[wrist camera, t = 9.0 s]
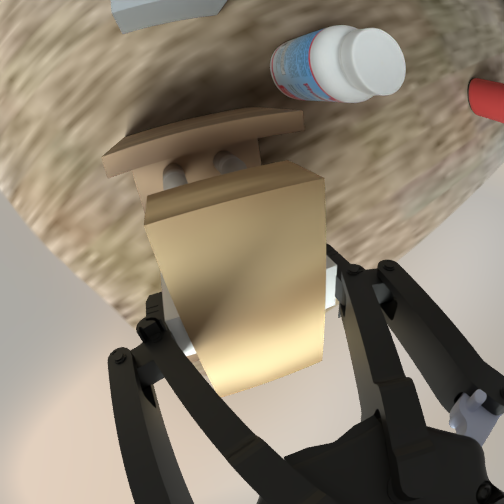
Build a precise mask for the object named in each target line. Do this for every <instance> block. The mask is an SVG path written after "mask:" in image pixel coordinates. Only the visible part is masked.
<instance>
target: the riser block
mask: <svg viewBox="0 0 504 504" xmlns="http://www.w3.org/2000/svg"><path fill="white" fill-rule="evenodd" d="M226 1H227V0H111V9H112V14H113V16H114V18H115V20H116V22H117V24H118V26H119V28H120V30H121V32H122V34H125V33H128V32H132V31H135V30H139V29H143V28H147V27H151V26H155V25H159V24H164V23H169V22H174V21H179V20H185V19H191V18H197V17H205V16H213V15H217V14H218V12H219V11H220V10H221V8H222V7H223V6H224V4H225V3H226Z"/></svg>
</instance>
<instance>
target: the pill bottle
mask: <svg viewBox="0 0 504 504" xmlns="http://www.w3.org/2000/svg"><path fill="white" fill-rule="evenodd" d="M270 71H271V76H272V79H273V81H274V83H275V85H276V86H277V88H278V89H279V90H280V91H281V92H282V93H283V94H285V95H286V96H288V97H290V98H293V99H297V100H308V101H330V102H344V103H358V102H363V101H366V100H368V99H370V98H371V97H372V96H374V95H382V96H386V95H391V94H393V93H395V92H396V91H397V90H398V89H399V88H400V87H401V85H402V84H403V81H404V78H405V72H406V66H405V59H404V56H403V53H402V51H401V49H400V47H399V45H398V44H397V42H396V41H395V40H394V39H393V38H392V37H391V36H390V35H389V34H388V33H386V32H385V31H383V30H380V29H377V28H365V29H357V28H355V27H352V26H347V25H335V26H331V27H327V28H324V29H321V30H318V31H315V32H312V33H309V34H306V35H303V36H300V37H298V38H295V39H292V40H290V41H287V42H285V43H283V44H281V45H280V46H279V47H278V48H277V49H276V50H275V51H274V53H273V54H272V57H271V61H270Z"/></svg>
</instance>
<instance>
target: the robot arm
mask: <svg viewBox="0 0 504 504" xmlns="http://www.w3.org/2000/svg"><path fill="white" fill-rule="evenodd" d="M161 285H162V292H159V293H156V294H153V295H149V297H148V299H147V301H146V317H145V318H143V319H142V320H141V321H140V322H139V323H138V324H137V327H136V330H137V333H138V335H139V336H140V338H141V340H142V341H143V343H142V344H140V345H139V346H138V347H136V348H134V349H132V350H131V351H130V350H129V349H127V348H124V347H121V348H117V349H115V350H114V351H113V352H112V353H111V354H110V356H109V357H108V370H109V381H110V389H111V398H112V405H113V412H114V418H115V424H116V429H117V434H118V440H119V445H120V450H121V454H122V458H123V463H124V467H125V471H126V475H127V478H128V482H129V486H130V489H131V492H132V496H133V499H134V502H135V504H194V502H193V500H192V498H191V496H190V493H189V491H188V488H187V486H186V484H185V481H184V479H183V476H182V474H181V471H180V468H179V466H178V463H177V460H176V458H175V455H174V452H173V449H172V446H171V443H170V440H169V437H168V434H167V431H166V428H165V425H164V421H163V418H162V415H161V411H160V408H159V404H158V401H157V397H156V393H155V389H154V386H153V384H154V383H156V382H157V381H159V380H161V379H163V378H164V377H165V379H166V380H167V382H168V383H169V385H170V386H171V388H172V389H173V390H174V392H175V394H176V395H177V396H178V398H179V399H180V401H181V402H182V404H183V405H184V406H185V408H186V409H187V411H188V412H189V413H190V415H191V416H192V417H193V419H194V420H195V421H196V422H197V424H198V425H199V426H200V428H201V429H202V430H203V432H204V433H205V434H206V435H207V437H208V438H209V439H210V440H211V442H212V443H213V444H214V445H215V447H216V448H217V449H218V450H219V451H220V452H221V454H222V455H223V456H224V457H225V458H226V460H227V461H228V462H229V463H230V465H231V466H232V467H233V468H234V469H235V470H236V471H237V472H238V473H239V475H241V477H242V478H243V479H244V480H245V481H246V482H247V483H248V484H249V485H250V486H251V487H252V488H253V489H254V490H255V491H256V492H257V493H258V494H259V495H260V496H259V499H258V502H257V504H504V492H502V491H501V490H499V489H498V488H497V487H495V486H494V485H493V484H492V483H491V482H490V481H489V479H488V476H487V472H486V467H485V457H484V452H483V449H482V445H483V444H484V442H485V441H486V439H487V437H488V436H489V434H490V432H491V430H492V429H493V427H494V426H495V424H496V422H497V420H498V418H499V417H500V416H501V415H502V414H503V413H504V376H503V375H502V374H500V373H499V372H498V371H496V370H495V369H494V368H492V367H491V366H490V365H488V364H487V363H485V362H484V361H483V360H482V358H481V357H480V356H479V355H478V354H477V352H476V351H475V350H474V348H473V347H472V346H471V344H470V343H469V342H468V341H467V339H466V338H465V337H464V336H463V334H462V333H461V332H460V331H459V330H458V328H457V327H456V326H455V325H454V324H453V322H452V321H451V320H450V319H449V318H448V317H447V315H446V314H445V313H444V312H443V311H442V310H441V309H440V308H439V306H438V305H437V304H436V303H435V302H434V301H433V300H432V299H431V298H430V297H429V295H428V294H427V293H426V292H425V291H424V290H423V289H422V288H421V287H420V286H419V285H418V284H417V283H416V281H414V279H413V278H412V277H411V276H410V275H409V274H408V273H407V272H406V271H405V270H404V269H403V268H402V267H401V266H400V265H399V264H398V263H396V262H395V261H392V260H382V261H380V262H379V263H378V268H377V269H369V270H365V269H364V268H363V267H362V266H360V265H356V264H350V263H349V262H348V261H347V260H346V259H345V258H343V257H342V256H341V255H340V254H338V252H337V251H336V250H334V248H333V247H331V246H330V245H329V244H326V297H325V309H326V308H329V307H331V306H334V305H335V297H336V298H337V299H338V301H339V314H338V318H340V315H341V317H342V321H343V325H344V329H345V333H346V338H347V342H348V347H349V351H350V355H351V360H352V365H353V369H354V374H355V378H356V384H357V388H358V394H359V400H360V405H361V412H362V415H361V422H360V423H358V424H356V425H355V426H353V427H352V428H351V429H350V430H348V431H347V432H346V433H345V434H344V435H343V436H341V437H340V438H339V439H338V440H336V441H335V442H333V443H329V444H324V445H319V446H314V447H309V448H305V449H303V450H301V451H298V452H295V453H293V454H290V455H288V456H285V457H284V459H283V458H281V456H280V455H278V454H277V453H276V452H275V451H274V450H273V449H272V448H271V447H270V446H269V445H268V444H267V443H266V442H265V441H264V440H262V439H261V438H260V437H258V436H256V435H255V434H254V433H253V432H252V431H251V430H250V429H249V428H248V427H247V426H246V425H245V424H244V423H243V422H242V421H241V420H240V418H239V417H238V416H237V415H236V414H235V413H234V412H233V411H232V410H231V409H230V408H229V407H228V405H227V404H226V403H225V402H224V401H223V400H222V399H221V397H220V396H219V395H218V394H217V393H216V392H215V391H214V389H213V388H212V387H211V386H210V385H209V383H208V382H207V381H206V380H205V379H204V378H203V376H202V375H201V374H200V373H199V371H198V370H197V369H196V368H195V366H194V365H193V364H192V363H191V361H190V360H189V359H188V358H187V356H189V355H192V354H196V351H195V349H194V347H193V345H192V343H191V341H190V338H189V336H188V334H187V332H186V330H185V328H184V325H183V323H182V321H181V319H180V316H179V314H178V312H177V309H176V307H175V305H174V302H173V300H172V298H171V295H170V293H169V291H168V288H167V286H166V283H165V281H164V278H163V276H162V273H161ZM387 324H388V325H387ZM388 326H389V327H390V329H391V330H392V331H393V333H394V334H395V335H396V337H397V338H398V340H399V341H400V343H401V344H402V346H403V347H404V348H405V350H406V351H407V353H408V354H409V356H410V357H411V359H412V360H413V362H414V363H415V365H416V366H417V368H418V369H419V371H420V372H421V374H422V375H423V377H424V379H425V380H426V382H427V383H428V385H429V386H430V388H431V390H432V391H433V393H434V394H435V396H436V398H437V399H438V400H439V402H440V403H441V405H442V406H443V407H444V408H445V409H446V410H447V411H448V412H449V413H450V420H449V425H450V427H452V428H455V429H456V434H455V433H451V432H447V431H443V430H439V429H435V428H431V427H427V426H426V423H425V420H424V416H423V412H422V409H421V405H420V402H419V399H418V395H417V392H416V389H415V385H414V383H413V380H412V379H411V378H409V377H406V376H405V374H404V371H403V368H402V365H401V362H400V359H399V356H398V353H397V350H396V347H395V344H394V342H393V339H392V336H391V333H390V331H389V328H388Z"/></svg>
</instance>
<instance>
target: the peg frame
mask: <svg viewBox="0 0 504 504" xmlns="http://www.w3.org/2000/svg"><path fill="white" fill-rule="evenodd" d="M299 131H305V126H304V117H303V111H302V110H291V109H279V108H262V107H246V108H240V109H234V110H229V111H223V112H218V113H213V114H208V115H204V116H199V117H195V118H191V119H186V120H182V121H178V122H174V123H171V124H167V125H163V126H160V127H156V128H153V129H149V130H146V131H142V132H139V133H136V134H133V135H130V136H127V137H124V138H123V139H122V140H121V141H119V142H118V143H117V144H116V145H115V146H114V147H112V148H111V149H110V150H109V151H108V152H107V153H105V154H104V155H103V156H102V157H101V158H102V162H103V165H104V168H105V172H106V175H107V178H111V177H114V176H117V175H119V174H122V173H125V172H128V171H131V170H132V173H133V177H134V180H135V183H136V187H137V190H138V193H139V197H140V200H141V203H142V206H143V209H144V212H145V210H146V201H147V196H148V195H151V194H154V193H157V192H161V191H164V190H167V189H171V188H174V187H178V186H181V185H185V184H188V183H192V182H196V181H199V180H203V179H207V178H211V177H215V176H219V175H223V174H227V173H231V172H235V171H239V170H243V169H248V168H252V167H257V166H261V158H260V151H259V144H258V138H262V137H268V136H273V135H279V134H286V133H292V132H299ZM187 358H188V359H189V360H190V361H191V362H194V361H197V360H200V359H199V357H198V355H197V353H196V354H192V355H189V356H187Z"/></svg>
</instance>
